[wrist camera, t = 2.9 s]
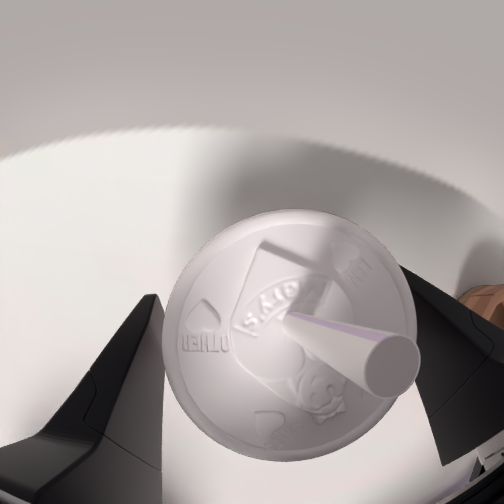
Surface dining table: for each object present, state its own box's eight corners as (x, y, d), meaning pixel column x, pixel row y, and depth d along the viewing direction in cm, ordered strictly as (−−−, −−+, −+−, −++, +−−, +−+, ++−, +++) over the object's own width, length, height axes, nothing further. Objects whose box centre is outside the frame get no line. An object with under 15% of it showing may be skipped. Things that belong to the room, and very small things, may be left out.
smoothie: (292, 241, 16) (459, 62, 3) (336, 343, 16) (561, 424, 2) (186, 286, 16) (-24, 228, 2) (233, 390, 15) (231, 623, 1)
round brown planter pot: (520, 336, 16) (546, 337, 13) (465, 428, 15) (490, 439, 12) (480, 259, 17) (509, 253, 14) (413, 361, 16) (443, 371, 12)
